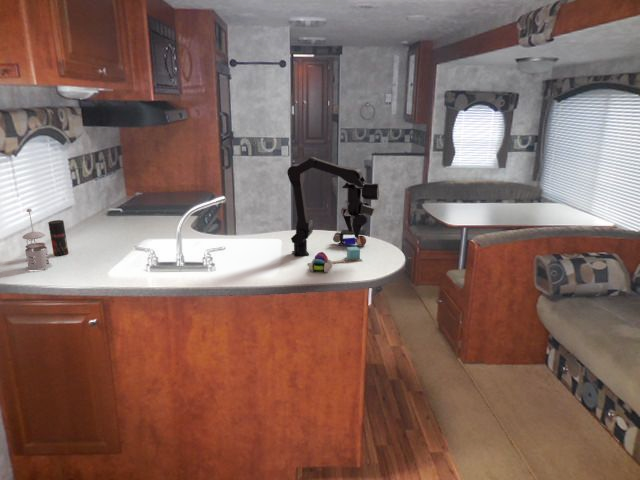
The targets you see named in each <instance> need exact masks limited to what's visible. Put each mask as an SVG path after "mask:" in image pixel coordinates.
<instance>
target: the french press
mask: <svg viewBox="0 0 640 480" xmlns="http://www.w3.org/2000/svg"><path fill="white" fill-rule="evenodd" d="M31 212H33V209H32V208H27V209H26V213H28V214H29V219H30V224H31V231H30V232H27V233H26V234H24V235H23V236H22V237H21V238H22V239H23V240H27V241H29V242H30V243H26V245H25V251H24V252H25V256H26V261H27V267H26V269H27V270H43V271H45V270H44V269H46V270H49V269H51V268H52V267H53V264H52V263H50V259H49V253H48V247H47V246H46V243H44V242H36V240H37V239H41V238H43V237H45V236H46V234H45V233H44V232H41V231H34V228H33V223H32V222H33V221H32V217H31ZM33 241H34V242H33ZM32 242H33V243H32ZM50 267H51V268H50ZM48 268H49V269H48Z"/></svg>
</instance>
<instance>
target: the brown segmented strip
mask: <svg viewBox="0 0 640 480" xmlns="http://www.w3.org/2000/svg"><path fill="white" fill-rule="evenodd" d="M331 261H332V260H331ZM355 262H356V263H357V262H363V259H362V258H360V259H353V260H349V259H345V260H333V261H332V263H333V264H342V263H355ZM310 263H311V262H308V263H307V265H308V266H309V264H310Z"/></svg>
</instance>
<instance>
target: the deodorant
mask: <svg viewBox="0 0 640 480" xmlns="http://www.w3.org/2000/svg"><path fill="white" fill-rule="evenodd" d="M48 230H49V235H50V241H51V246H52V253H53V256H54V257H65V256H67V255H68V254H69V246H68V241H67V235H66V228H65V223H64V220H63V219H57V220H56V219H55V220H51V221H48Z"/></svg>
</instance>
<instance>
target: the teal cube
mask: <svg viewBox="0 0 640 480" xmlns="http://www.w3.org/2000/svg"><path fill="white" fill-rule="evenodd" d="M346 258H347V260H353V259H361V250H360V248H359V246H350V247H349V246H348V247H346Z"/></svg>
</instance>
